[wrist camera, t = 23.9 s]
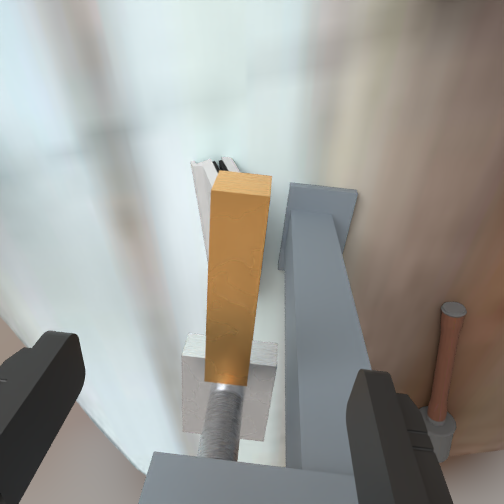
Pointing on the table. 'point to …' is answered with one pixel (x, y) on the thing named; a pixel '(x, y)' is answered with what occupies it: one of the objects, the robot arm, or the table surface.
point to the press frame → (295, 375)
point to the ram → (231, 325)
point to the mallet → (444, 381)
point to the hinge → (208, 189)
